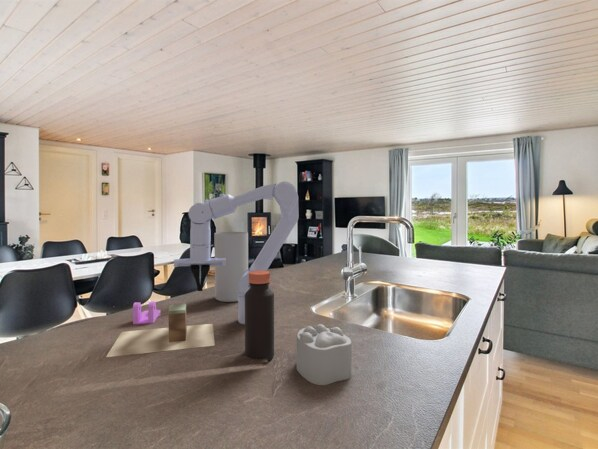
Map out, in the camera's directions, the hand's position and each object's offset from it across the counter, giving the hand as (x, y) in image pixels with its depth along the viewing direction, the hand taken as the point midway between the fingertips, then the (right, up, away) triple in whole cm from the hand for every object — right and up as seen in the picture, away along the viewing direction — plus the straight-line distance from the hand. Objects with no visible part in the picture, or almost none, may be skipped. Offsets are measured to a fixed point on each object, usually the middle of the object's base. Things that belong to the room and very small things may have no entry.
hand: (200, 290), depth 100 cm
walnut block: (-2, -10, -11) cm, 15 cm away
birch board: (-5, -11, -12) cm, 17 cm away
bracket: (-17, -11, +5) cm, 21 cm away
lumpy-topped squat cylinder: (+34, -12, -26) cm, 44 cm away
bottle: (+20, -12, -21) cm, 31 cm away
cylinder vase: (+4, -9, +30) cm, 31 cm away
